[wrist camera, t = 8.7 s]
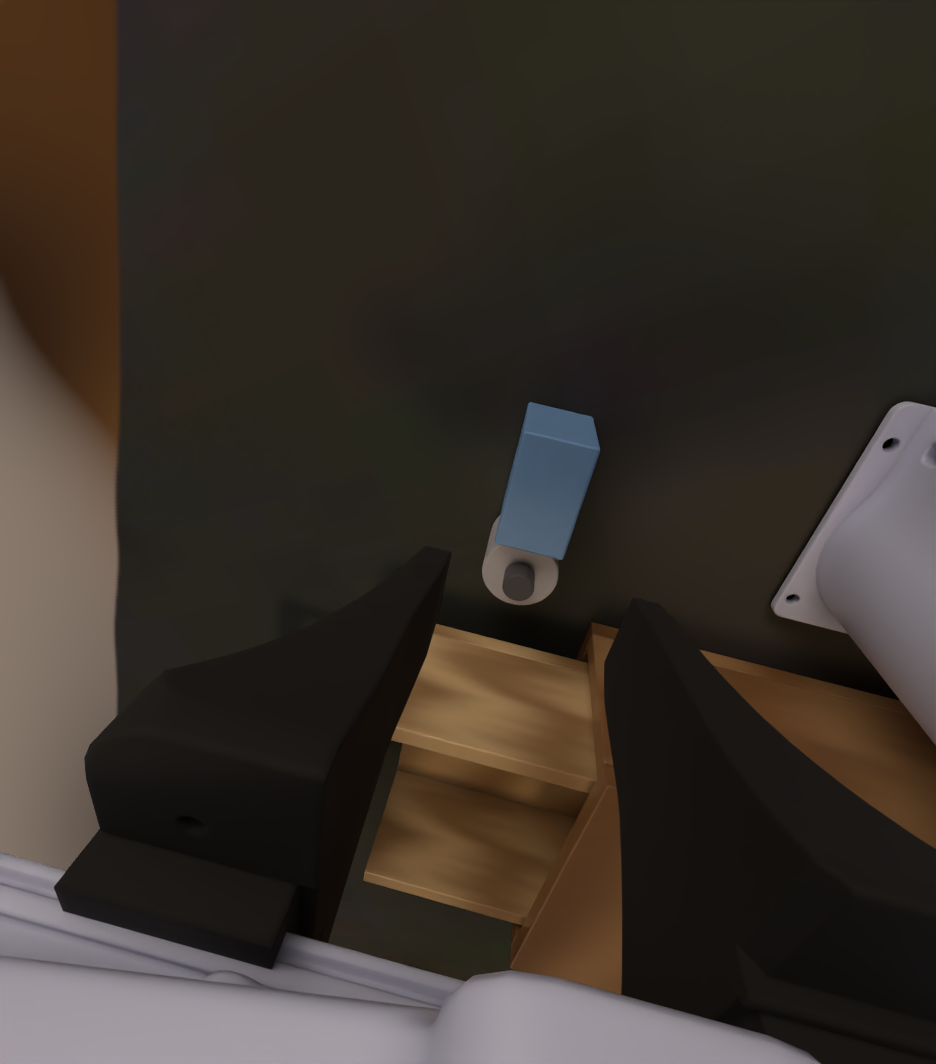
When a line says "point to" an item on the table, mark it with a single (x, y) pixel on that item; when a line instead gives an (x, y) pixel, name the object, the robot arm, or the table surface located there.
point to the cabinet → (792, 709)
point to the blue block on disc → (540, 504)
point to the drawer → (486, 775)
